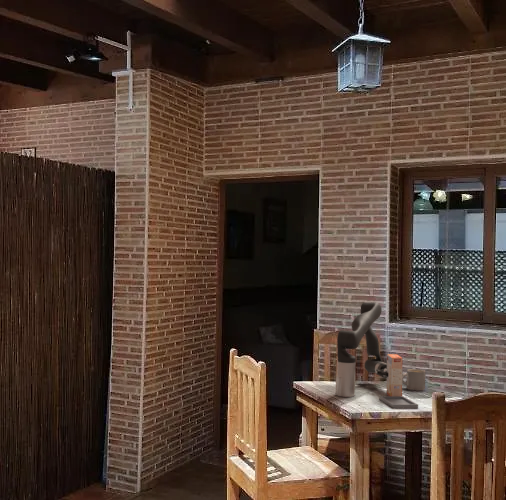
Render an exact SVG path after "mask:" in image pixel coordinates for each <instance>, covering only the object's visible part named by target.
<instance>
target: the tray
mask: <svg viewBox="0 0 506 500" xmlns="http://www.w3.org/2000/svg"><path fill="white" fill-rule="evenodd" d="M379 401H381V402H382V403H383V404H385V405H387V406H388V407H390V408H391V409H419V404H418V403H416V402H414V401H412V400H411V399H410V398H407V397H406V396H403V395H402V396H389V395H380V396H379Z"/></svg>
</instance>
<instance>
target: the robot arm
mask: <svg viewBox="0 0 506 500" xmlns="http://www.w3.org/2000/svg"><path fill="white" fill-rule="evenodd" d="M381 315H382V305H381V304H380V303H379V302H377V301H376V302H375V301H374V302H371V301H369V302H362V303H361V305H360V314H358V315H357V316H355V318H354V319H353V320H352V322H351V329H352V330H339V331H338V334H337V335H336V336H337V338H336V339H337V341H336V345H337V346H336V348H337V349H336V350H337V351H336V352H337V364H336V365H337V367H336V369H337V371H336V376H335V395H336V396H338V397H344V398H345V397H346V398H350V397H355V395H356V393H355V387H356V364H357V363H356V359H357V358H356V356H355V355H352V354H350V353H349V351H347V349H348V350H356V349H358V348H359V345H360V343H361V341H362V340H363V338H364V337H365V342H366V343H365V345H366V354H367V355H368V356H374V357H375V358H370V359H367V360H365V362H364V369H365V371H367V372H368V373H373V374H374V373H375V375H377V376H380V377H382V378H383V379H387V377H388V372H387V362H384V361H383V359H382V355H381V353H380V343H379V337H378V336H377V334H376V332H375V331H374V330H373V327H372V326H373V324H374V323H375V322H376V321H377V320H378V319H379V318H380V317H381ZM403 374H404V372H403V370H402V376H403Z"/></svg>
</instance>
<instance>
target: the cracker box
mask: <svg viewBox="0 0 506 500" xmlns="http://www.w3.org/2000/svg"><path fill="white" fill-rule="evenodd" d="M403 361H404V360H403V357H402V356H400V355H399V354H396V353H391V354H390V353H388V354H387V355H386V364H387V372H388V377H387V378H386V394H387V396H403V383H402V371H403Z"/></svg>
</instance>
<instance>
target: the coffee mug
mask: <svg viewBox="0 0 506 500" xmlns="http://www.w3.org/2000/svg"><path fill="white" fill-rule="evenodd" d="M426 374H427V373H426V370H424V369H415V368H413V369H411V368H409V369H406V373H404V372H403V376H402V385H405V386H406V389H407V390H410V391H425V390H426ZM405 377H406V380H404V378H405ZM424 389H425V390H424Z"/></svg>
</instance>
